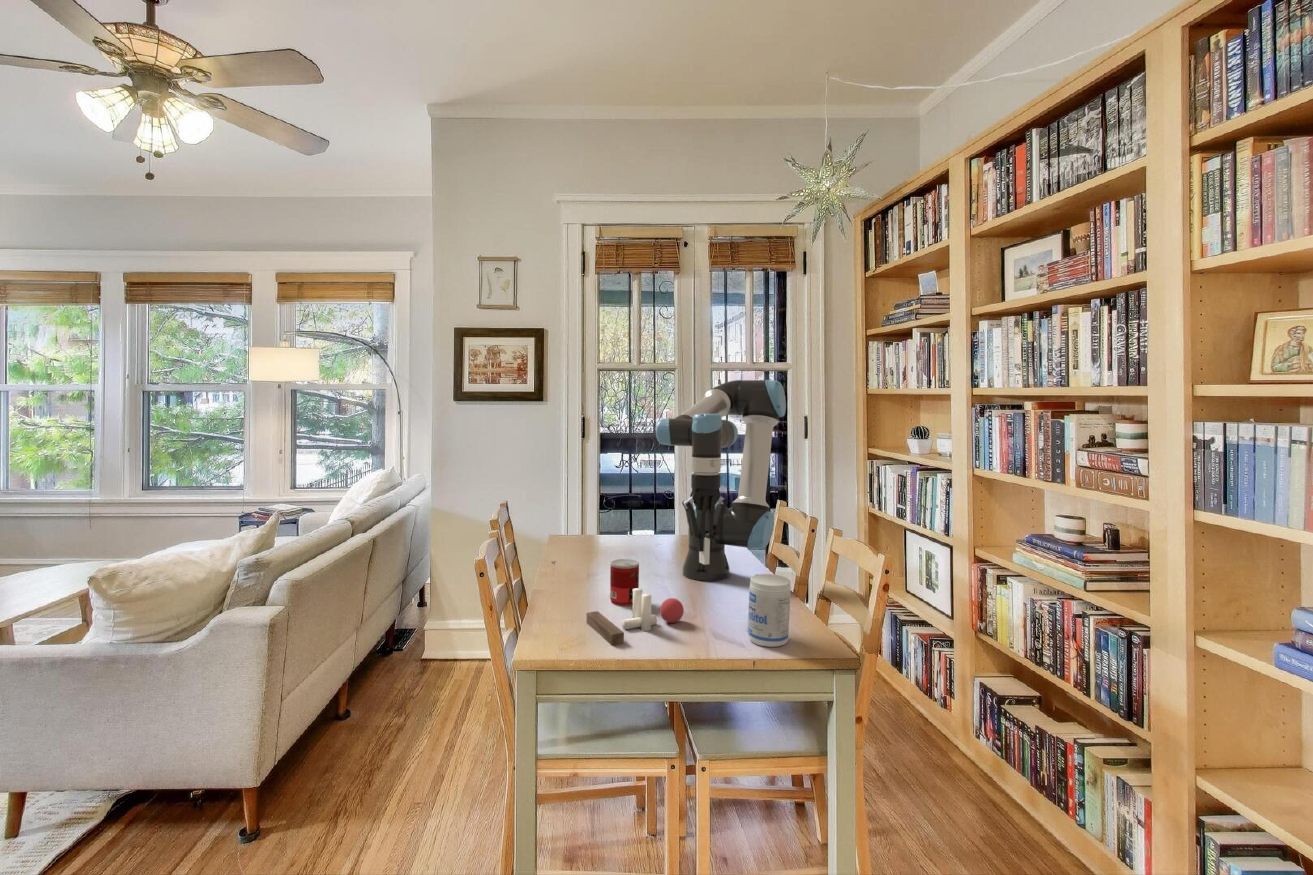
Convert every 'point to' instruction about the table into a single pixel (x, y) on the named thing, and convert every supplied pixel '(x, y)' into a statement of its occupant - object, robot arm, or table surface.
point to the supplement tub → (769, 610)
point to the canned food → (623, 581)
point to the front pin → (636, 622)
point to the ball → (671, 610)
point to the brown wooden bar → (605, 628)
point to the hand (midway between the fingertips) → (704, 563)
